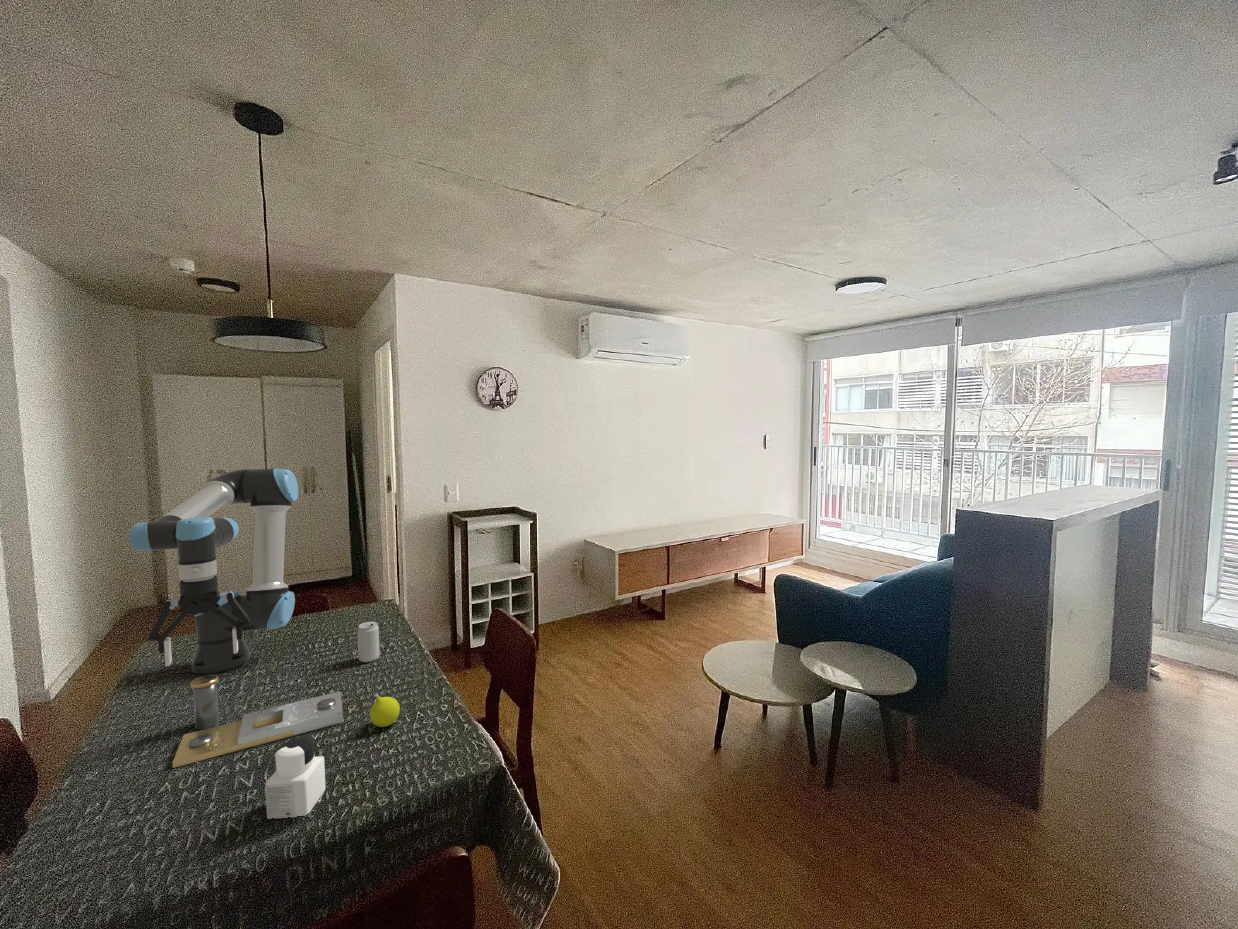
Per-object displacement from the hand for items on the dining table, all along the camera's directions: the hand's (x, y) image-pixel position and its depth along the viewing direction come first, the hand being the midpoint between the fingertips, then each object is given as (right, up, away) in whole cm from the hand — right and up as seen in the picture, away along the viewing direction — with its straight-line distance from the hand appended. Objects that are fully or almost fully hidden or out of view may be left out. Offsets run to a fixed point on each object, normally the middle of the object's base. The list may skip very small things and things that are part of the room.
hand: (203, 657), depth 130 cm
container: (+42, -20, -27) cm, 54 cm away
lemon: (+47, -18, +1) cm, 50 cm away
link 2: (+23, -18, +1) cm, 29 cm away
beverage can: (+24, -16, +38) cm, 48 cm away
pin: (0, -18, +1) cm, 18 cm away
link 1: (+13, -18, -5) cm, 23 cm away
